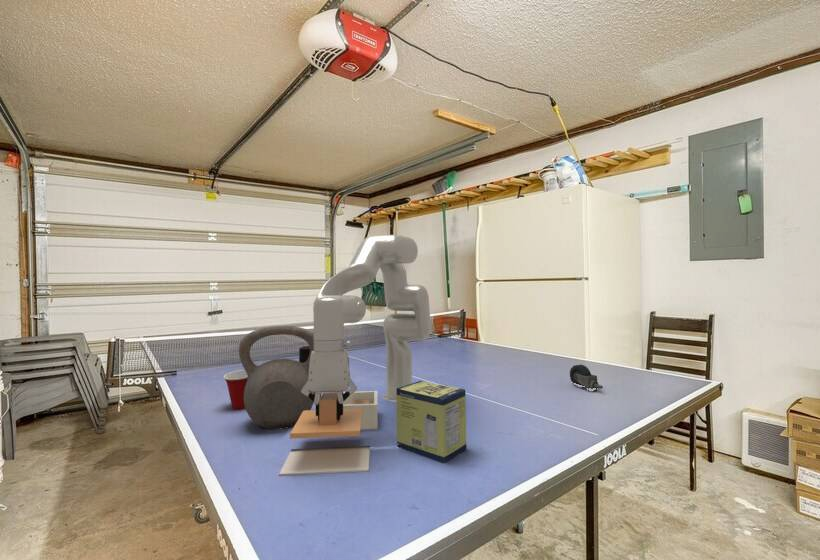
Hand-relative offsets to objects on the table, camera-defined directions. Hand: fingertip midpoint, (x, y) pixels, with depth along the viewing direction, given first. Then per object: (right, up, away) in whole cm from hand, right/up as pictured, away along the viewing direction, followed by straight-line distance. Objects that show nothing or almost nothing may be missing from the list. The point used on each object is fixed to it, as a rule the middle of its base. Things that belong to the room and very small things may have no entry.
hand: (329, 417), depth 98 cm
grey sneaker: (+91, -9, +56) cm, 107 cm away
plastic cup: (-39, -10, +38) cm, 55 cm away
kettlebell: (-20, -10, +22) cm, 31 cm away
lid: (0, -2, 0) cm, 2 cm away
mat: (0, -9, 0) cm, 9 cm away
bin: (+3, -9, +20) cm, 23 cm away
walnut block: (+5, -8, +22) cm, 24 cm away
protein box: (+26, -9, +3) cm, 28 cm away
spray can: (-16, -10, +43) cm, 47 cm away
